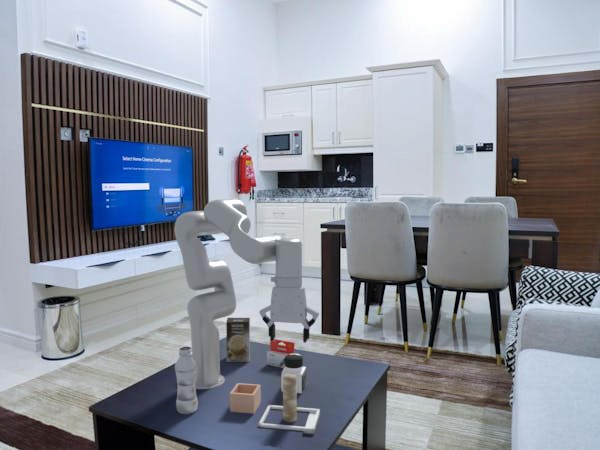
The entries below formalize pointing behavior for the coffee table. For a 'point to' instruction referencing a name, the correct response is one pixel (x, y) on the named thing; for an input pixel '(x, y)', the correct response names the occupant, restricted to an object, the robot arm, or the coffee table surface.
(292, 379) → the dowel
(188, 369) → the plastic bottle
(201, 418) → the coffee table surface
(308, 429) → the tray
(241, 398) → the pen pot
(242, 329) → the coffee box
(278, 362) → the ink cartridge box
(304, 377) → the medicine bottle
